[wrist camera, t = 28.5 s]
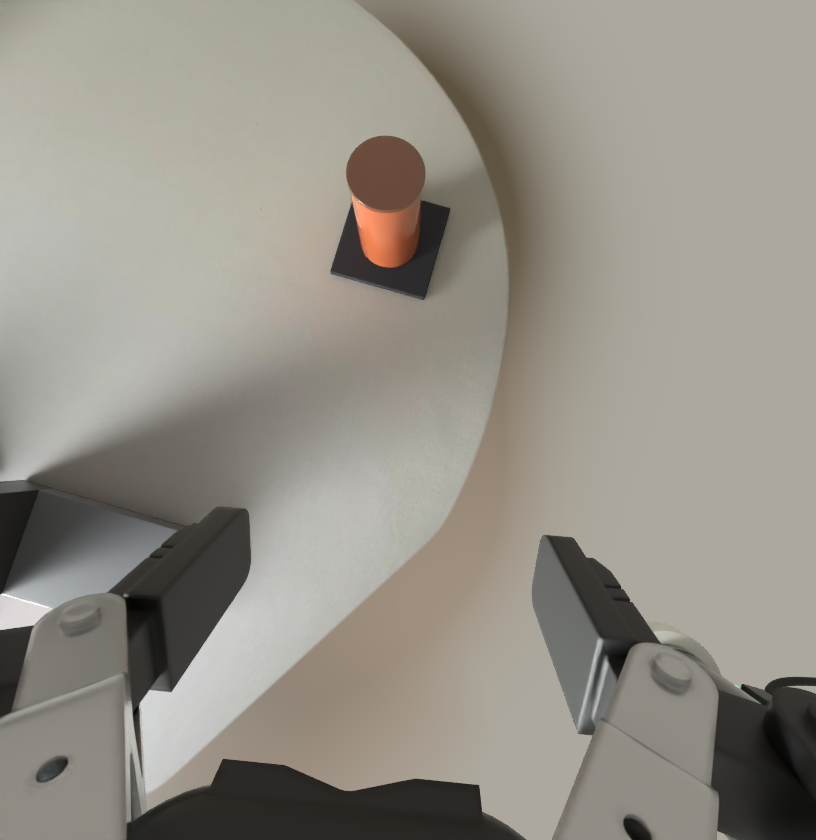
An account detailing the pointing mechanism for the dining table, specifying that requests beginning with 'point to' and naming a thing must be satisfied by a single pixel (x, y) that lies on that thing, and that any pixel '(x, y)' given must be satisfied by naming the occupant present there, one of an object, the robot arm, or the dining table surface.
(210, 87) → the dining table surface
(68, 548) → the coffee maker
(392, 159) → the canister
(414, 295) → the mat
